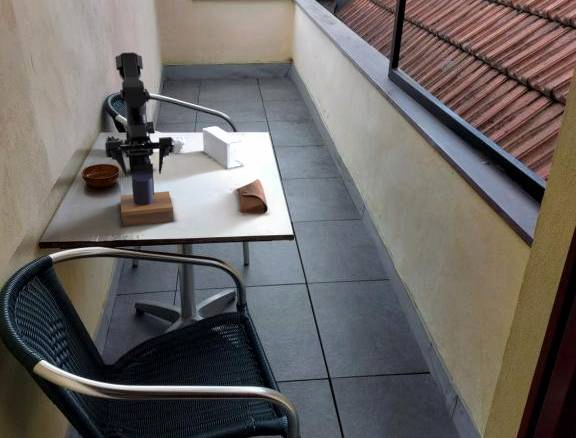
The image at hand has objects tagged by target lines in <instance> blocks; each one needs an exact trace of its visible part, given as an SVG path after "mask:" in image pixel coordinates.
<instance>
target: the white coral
mask: <svg viewBox="0 0 576 438" xmlns="http://www.w3.org/2000/svg"><path fill="white" fill-rule="evenodd" d="M172 138H173V141H174V151H173V154H176V153H181V152H182V150H183V146H184V145H185V144H186V139H185V138H184V136H182V135H181V138H180V137H172Z"/></svg>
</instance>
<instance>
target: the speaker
mask: <svg viewBox="0 0 576 438" xmlns="http://www.w3.org/2000/svg"><path fill="white" fill-rule="evenodd" d="M154 180H155V179H154V164H153V163H151V164H146V165H140V166H134V174H131V188H132V189H131V190H132V195H133V200H134V202H135V203H136V204H139V205H148V204H150V203H152V202H153V195H154V193H155V181H154Z"/></svg>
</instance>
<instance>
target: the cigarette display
mask: <svg viewBox="0 0 576 438" xmlns="http://www.w3.org/2000/svg"><path fill="white" fill-rule="evenodd" d="M241 142H242V140H240V139H239V138H237V137H235V136H234V135H232V134H230V133H229V132H227V131H225V130H224V129H222V128H220V127H219V126H217V125H213V126H208V127H203V128H202V145H203V147H202V148H203V149H202V151H203V153H205V154H207V155H208V156H210V157H211V158H213V159H214V160H216V161H217V162H219V164H222V165H223V166H224V167H226V169H227V170H228V169H231V168H237V167H241V166H242V164H241V163H240V162H238V161H237V150H236V148H234V147H231V145H232V144H238V143H241Z"/></svg>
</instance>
